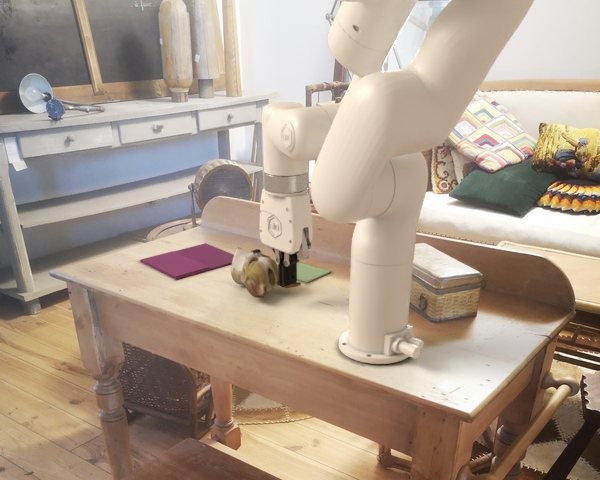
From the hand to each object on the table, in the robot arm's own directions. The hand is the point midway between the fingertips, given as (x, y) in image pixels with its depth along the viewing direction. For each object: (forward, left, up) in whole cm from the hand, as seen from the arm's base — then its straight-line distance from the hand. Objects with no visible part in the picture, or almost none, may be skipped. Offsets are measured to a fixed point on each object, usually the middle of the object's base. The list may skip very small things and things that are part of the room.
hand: (287, 283), depth 112 cm
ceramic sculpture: (+9, 0, -4) cm, 10 cm away
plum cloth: (+34, 0, -4) cm, 34 cm away
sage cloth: (+12, -13, -4) cm, 18 cm away
